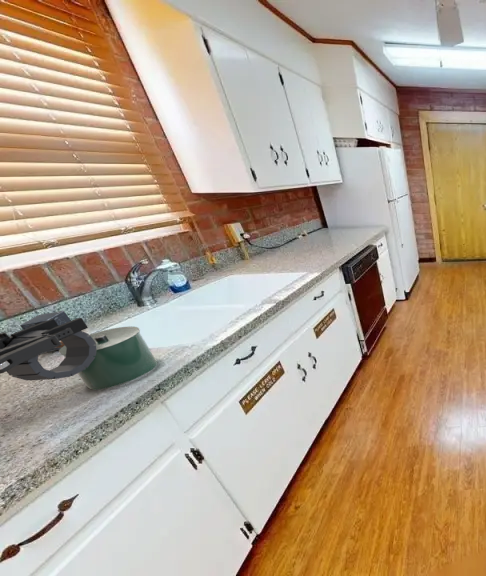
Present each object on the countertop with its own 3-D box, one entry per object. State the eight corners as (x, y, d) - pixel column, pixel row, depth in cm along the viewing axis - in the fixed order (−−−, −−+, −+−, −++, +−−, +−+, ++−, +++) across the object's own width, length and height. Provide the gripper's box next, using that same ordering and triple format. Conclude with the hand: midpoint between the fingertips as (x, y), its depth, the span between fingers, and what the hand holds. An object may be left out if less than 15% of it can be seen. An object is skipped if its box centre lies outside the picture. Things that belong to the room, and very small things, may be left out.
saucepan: (9, 398, 77) (-28, 356, 71) (73, 364, 89) (45, 327, 84) (126, 389, 80) (99, 349, 75) (173, 358, 92) (152, 322, 87)
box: (58, 341, 100) (38, 314, 96) (84, 336, 103) (64, 310, 99) (41, 353, 94) (18, 324, 90) (69, 347, 97) (47, 319, 92)
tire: (49, 389, 64) (14, 347, 59) (22, 390, 63) (-14, 349, 59) (106, 357, 74) (80, 320, 69) (84, 359, 73) (56, 321, 69)
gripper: (-155, 418, 49) (35, 339, 70) (-26, 408, 51) (121, 334, 72) (-200, 383, 45) (13, 311, 67) (-60, 374, 48) (104, 307, 69)
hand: (69, 323), depth 69 cm, fingers closed on tire, 5 cm apart
